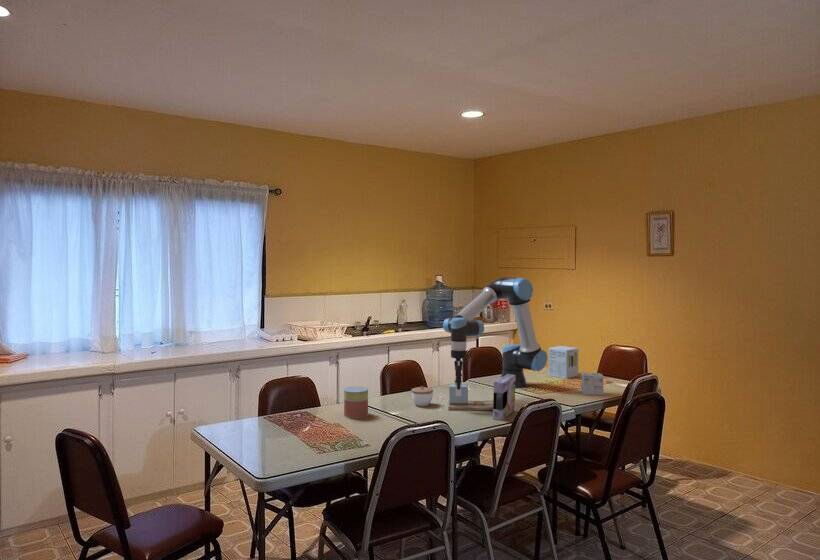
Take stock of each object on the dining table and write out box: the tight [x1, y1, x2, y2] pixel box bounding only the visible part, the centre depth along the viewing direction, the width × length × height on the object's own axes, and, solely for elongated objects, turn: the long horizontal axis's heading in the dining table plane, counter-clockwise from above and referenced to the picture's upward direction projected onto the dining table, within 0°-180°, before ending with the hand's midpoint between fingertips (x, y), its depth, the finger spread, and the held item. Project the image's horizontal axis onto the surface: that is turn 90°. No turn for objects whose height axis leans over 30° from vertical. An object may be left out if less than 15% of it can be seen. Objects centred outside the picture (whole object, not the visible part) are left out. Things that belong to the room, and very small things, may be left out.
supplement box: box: [548, 345, 579, 380], centre depth 357 cm, size 13×13×18 cm
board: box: [447, 400, 493, 411], centre depth 283 cm, size 13×26×2 cm, turn 86°
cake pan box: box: [492, 374, 516, 421], centre depth 268 cm, size 19×5×18 cm, turn 151°
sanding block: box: [448, 383, 469, 405], centre depth 284 cm, size 5×9×9 cm, turn 86°
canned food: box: [343, 386, 369, 419], centre depth 270 cm, size 11×11×12 cm
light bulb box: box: [581, 372, 605, 396], centre depth 310 cm, size 11×7×11 cm, turn 84°
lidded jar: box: [410, 385, 434, 407], centre depth 288 cm, size 11×11×9 cm
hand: (458, 392), depth 283 cm, fingers open, 13 cm apart
